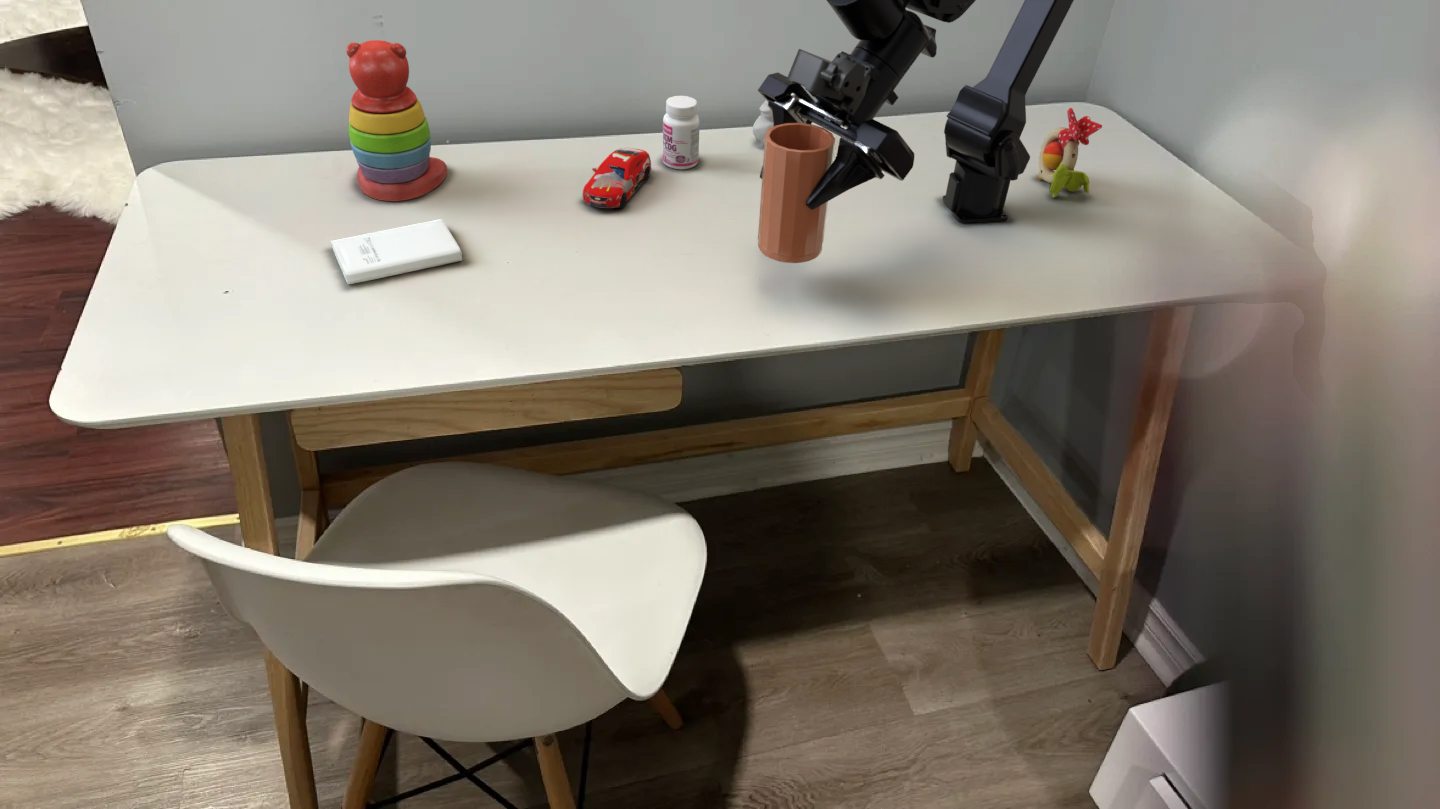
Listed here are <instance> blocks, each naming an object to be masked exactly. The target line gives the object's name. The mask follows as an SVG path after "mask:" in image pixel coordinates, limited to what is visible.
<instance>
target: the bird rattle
mask: <svg viewBox="0 0 1440 809" xmlns="http://www.w3.org/2000/svg"><path fill="white" fill-rule="evenodd" d="M1066 112H1067V113H1066V114H1067V119H1068V127H1065V126H1064V127H1063V126H1058V127H1056V128H1053V129H1052V130H1050V131H1049V132H1048V133H1047V134H1046V136H1045V138H1044V139H1043V141H1042V144H1041V146H1040V149H1039V156H1038V175H1037V179H1038V180H1040V181H1045V182H1046V183H1048V184H1050V187H1049V190H1048V191H1049V192H1048V193H1049V194H1052V198H1053V199H1054V198H1056V197H1057V196H1059V194H1060V192H1062V190H1063V189H1064V188H1065V189H1066V190H1067V191H1068V192H1071V193H1072V192H1077V191H1079V190H1080V189H1081V188H1082V190H1083V192H1084V193H1086V194H1090V177H1089V176H1088V175H1087V173H1086V172H1084V171H1081V170H1075V167H1076V165H1077V161H1078V155H1079V145H1080V143H1081V144H1082V145H1083V146H1088V145H1089V144H1090V140H1089V137H1090V136H1092V135H1093V134H1095V133H1096V132H1098V131H1099V130H1101V129H1102V128H1103V125H1102V124H1101V123H1098V122H1096V121H1093V120H1092V119H1091V117H1090V116H1088V115H1084V116H1082V117H1081V118H1080V119H1078V120H1077V117H1076V114H1075V112H1074V109H1073V107H1069V108H1068V109H1067V111H1066Z"/></svg>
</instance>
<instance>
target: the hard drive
mask: <svg viewBox="0 0 1440 809" xmlns="http://www.w3.org/2000/svg"><path fill="white" fill-rule="evenodd" d="M330 243H331V247H332V251H333V254H334V256H335V258H336V261H337V263H338V266H339V268H340V271H341V273H342V274H343V277H344V279H345V281H346V284H347V285H353V284H357V283H363V282H368V281H372V280H377V279H382V278H388V277H391V276H397V275H400V274H406V273H411V272H414V271H420V270H424V269H428V268H434V267H438V266H443V265H448V264H453V263H457V262H461V261H463V253H462V250H461V247H460V246H459V245H458V243H457V241H456V239H455V238H454V236H453V235H452V233H451V231H450V230H449V228H448V226H447V225H446V223H445V222H444V220H443V219H442V218H438V219H433V220H429V221H423V222H418V223H412V224H408V225H403V226H398V227H397V226H396V227H393V228H388V229H387V228H386V229H382V230H379V231H372V232H367V233H363V234H359V235H352V236H347V237H344V238H338V239H333V240H330Z"/></svg>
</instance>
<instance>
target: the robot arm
mask: <svg viewBox="0 0 1440 809" xmlns="http://www.w3.org/2000/svg"><path fill="white" fill-rule="evenodd" d="M976 1H977V0H826V2H827V3H828V5H829V6H830V7H831V9H832V10H833V12H834V13H835V14H836V15H837V17H838V18H839V19H840V21H841V22H842V24H843V25H844V26H845V28H846V29H847V31H848V32H849V34H850V35H851V36H852V37H853V38H854V39H857V40H859V41H858V42H857V44H856V45H855V47H853V50H852V51H851V52H850V53H847V52H845V51H843V50H841V52H839V53H837V54H836V56H834V58H833V59H832V60H829V59H826V58H824V57H822V56H819V55H817V54H814V53H811V52H809V51H807V50H804V49H802V48H798V50H797V52H796V54H795V58H794V60H793V62H792V64H791V67H790V70H789V72H788V74H787V76H786V75H784V74H782V73H781V72H778V71H777V72H774V73H770V74H768V75H767V76H766V77H765V79H764V80H763V82H762V83H761V85H760V86H759V87H758V88H757V92H758V93H759V94H760V95H761V96H762V97H763V98H764V99H765V100H767V101H768V107H769V108H770V109H771V110H772V113H773V122H774V125H773V127H774V126H776V125H781V124H785V123H805V124H812V125H813V124H814V125H816V126H819V127H822V128H824V129H826V130H828V131H829V132H831V133H832V134H833V135H834V134H835V135H837V136H839V141H838V147H837V152H836V156H835V159H833V163H832V164H831V166H830V167H829V169H828V170H827V171H826V173H825V174H824V176H823V177H822V179H821V180H820V181H819V183H818V184H817V186H816V187H815V189H814V190H813V192H812V193H811V195H810V197H809V199H808V200H807V202H806V206H807V207H808V208H809V209H811V210H813V209H815V208H817V207H819V206H821V205H822V204H824V203H826V202H828V203H829V201H831V200H833V199H835V198H837V197H838V196H840V195H842V194H843V193H845V192H847V191H850V190H851V189H854V188H855V187H857V186H860V185H863V184H864V183H867V182H869V181H871V180H874V179H879V180H882V179H883V178H884V177H885V174H887V175H889V176H891V177H893V178H895V179H897V180H898V181H900V182H901V181H902V182H903V181H904V180H905V179H906V177H907V176H908V174H910V172H911V170H912V169H913V168H914V164H915V163H914V162H915V152H914V151H913V150H912V149H911V147H910V146H909V144H908V143H907V142H906V140H905V139H904V138H903V137H902V136H901V134H900V133H899V132H898V130H897V129H894V128H892V127H890V126H888V125H886V124H884V123H882V122H880V121H878V120H876V119H874V118H875V117H876V115H877V114H878V113H879V111H880V110H881V109H882V107H883V106H884V105H885V103H886V104H888V105H891V106H894V105H895V103H896V102H897V100H898V99H899V96H898V94H897V93H896V92H895V90H896V88H897V86H899V84H900V82H901V81H902V79H904V77H905V76H906V74H907V73H908V71H909V70H910V69H911V67H912V66H913V64H914V63H915V62H916V60H917V59H918V57H919V56H920V55H924V56H927V57H929V58H932V59H933V58H935V57H936V56H937V48H938V45H937V42H936V36H937V35H936V34H937V29H936V28H934V27H931V26H929V25H926V24H924V22H923V21H922V19H921V18H920V16H919V15H918V14H916V13H915V12H917V13H920V14H921V15H925V16H926V17H930V18H933V19H935V20H937V21H940V22H943V23H947V24H950V23H953V22H955V21H957V20H958V19H959V18H961V17H962V16H963V15H964V14H965V13H966V12H967V11H968V9H970V7H971V6H972V5H973V4H974V3H975V2H976ZM1074 1H1075V0H1023V2H1022V5H1021V7H1020V9H1019V11H1018V13H1017V15H1016V17H1015V18H1014V21H1013V22H1012V25H1011V26H1010V29H1009V30H1008V33H1007V35H1006V37H1005V39H1004V41H1003V43H1002V45H1001V47H1000V49H999V51H998V53H997V55H996V57H995V59H994V61H993V64H992V65H991V67H990V69H989V71H988V72H987V75H986V76H985V78H984V79H982V80H981V81H979V82H978V83H976V84H975V85H973V86H970V85H967V84H966V85H964V86H963V87H962V88H961V89H960V90H959V92H958V95H957V97H956V100H955V102H954V104H953V106H952V108H951V110H950V111H949V112H948V113H947V115H946V118H947V120H946V122H945V125H944V131H943V134H944V139H945V149H946V150H945V151H946V157H947V158H948V159H953V160H955V163H954V164H955V165H954V170H953V171H952V172H950V173H949V176H948V181H947V186H946V192H945V195H943V196H942V198H941V199H942V201H943V203H944V204H945V205H946V207H947V208H948V210H949V211H950V212H951V214H952V215H953V216H954V217H955V219H956V220H957V222H959V223H962V224H967V223H986V222H1005V221H1008V220H1009V215H1008V213H1007V212H1006V211H1005V210H1004V209H1005V204H1006V201H1007V197H1008V192H1009V189H1010V184H1011V181H1016V180H1018V178H1019V176H1020V175H1022V174H1023V173H1024V172H1025V171H1026V169H1027V166H1028V164H1029V162H1030V159H1031V155H1030V153H1029V152H1028V150H1027V148H1026V146H1025V145H1024V143H1023V141H1022V140H1021V136H1022V133H1023V131H1024V129H1025V126H1026V124H1027V108H1026V95H1027V93H1028V90H1029V88H1030V86H1031V84H1032V83H1033V81H1034V80H1035V77H1036V75H1037V73H1038V71H1039V69H1040V67H1041V65H1042V63H1043V61H1044V59H1045V57H1046V55H1047V54H1048V51H1049V50H1050V47H1051V46H1052V44H1053V42H1054V40H1055V38H1056V36H1057V34H1058V32H1059V30H1060V28H1061V26H1062V24H1063V22H1064V20H1065V19H1066V16H1067V14H1068V13H1069V10H1070V9H1071V7H1072V5H1073V3H1074ZM907 9H908V10H907ZM814 98H815V99H816V100H817V101H815V100H814ZM762 172H763V165H762V166H761V169H760V173H759V179H761V180H762ZM884 173H885V174H884Z"/></svg>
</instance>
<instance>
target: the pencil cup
mask: <svg viewBox="0 0 1440 809" xmlns="http://www.w3.org/2000/svg"><path fill="white" fill-rule="evenodd" d="M835 145H836V137H835V136H834V133H833V132H831V131H829V130H827V129H825V128H823V127H821V126H819V125H816V124H813V123H812V124H805V123H785V124H781V125H776V126H774V127H772V128H770V129H769V130H768V131H767V133H766V135H765V143H764V144H763V160H762V166H763V172H762V179H761V186H760V187H761V190H760V200H759V201H760V203H759V218H758V232H757V240H758V242H757V247H758V250H759V251H760V253H761V254H763V255H764V256H765V257H766V258H769V259H770V260H774V261H776V262H780V263H787V264H801V263H806V262H810V261H813V260H814V259H816V258H818V257H819V256H820V255H821V253H822V251H823V244H824V239H825V231H826V222H827V214H828V206H829V205H828V204H829V201H828V202H826V203H824V204H822V205H821V206H819V207H817V208H815V209H813V210H811V209H809V208H808V207H807V206H806V202H807V200H808V199H809V197H810V195H811V193H812V192H813V190H814V189H815V187H816V186H817V184H818V183H819V181H820V180H821V179H822V177H823V176H824V174H825V173H826V171H827V170H828V169H829V167H830V166H831V164H832V163H833V161H834V156H835V155H834V154H835V147H836V146H835Z"/></svg>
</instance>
